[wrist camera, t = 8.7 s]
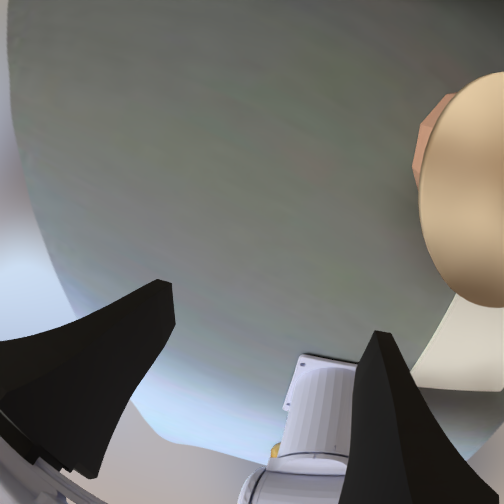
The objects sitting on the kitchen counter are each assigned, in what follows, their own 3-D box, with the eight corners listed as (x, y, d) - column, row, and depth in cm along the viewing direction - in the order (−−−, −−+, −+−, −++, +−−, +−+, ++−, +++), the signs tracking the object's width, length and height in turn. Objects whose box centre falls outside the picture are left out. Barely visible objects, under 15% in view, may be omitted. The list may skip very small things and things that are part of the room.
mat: (498, 387, 21) (500, 391, 20) (404, 380, 23) (404, 385, 23) (565, 290, 14) (568, 294, 14) (470, 262, 17) (473, 267, 16)
